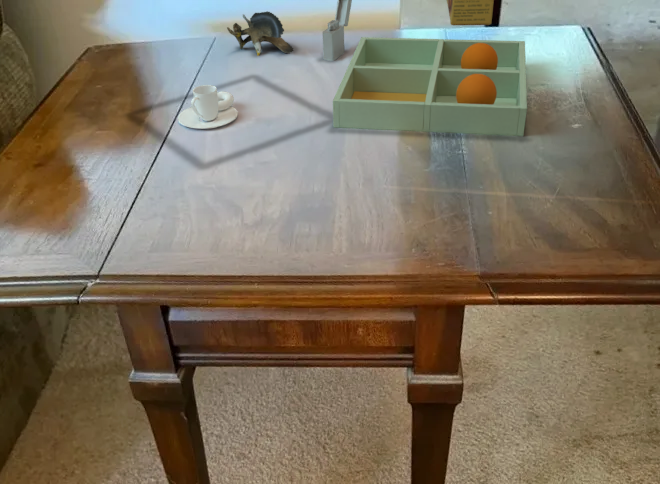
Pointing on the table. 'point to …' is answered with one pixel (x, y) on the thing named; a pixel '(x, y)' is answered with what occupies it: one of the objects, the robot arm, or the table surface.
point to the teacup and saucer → (208, 108)
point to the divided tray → (429, 88)
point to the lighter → (336, 32)
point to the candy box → (470, 12)
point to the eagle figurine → (262, 32)
